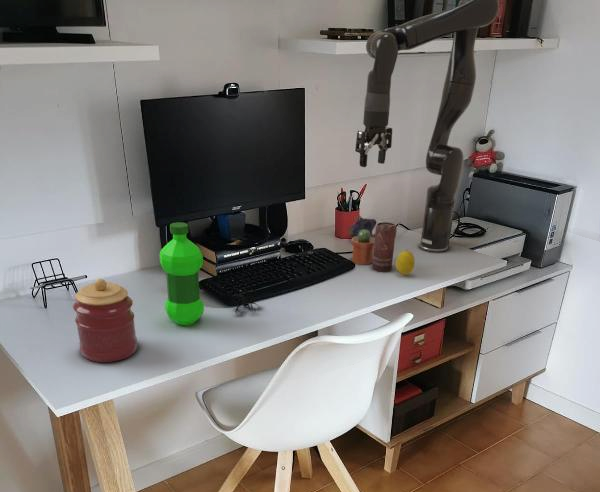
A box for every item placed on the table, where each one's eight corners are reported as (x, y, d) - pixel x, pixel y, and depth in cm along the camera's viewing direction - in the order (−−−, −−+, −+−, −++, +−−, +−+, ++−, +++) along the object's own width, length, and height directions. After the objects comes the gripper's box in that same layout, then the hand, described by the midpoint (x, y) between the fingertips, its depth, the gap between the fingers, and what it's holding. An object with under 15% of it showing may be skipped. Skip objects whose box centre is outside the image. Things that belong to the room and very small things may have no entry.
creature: (264, 314, 176) (245, 299, 180) (267, 297, 173) (248, 282, 177) (242, 322, 172) (223, 307, 175) (245, 305, 168) (225, 290, 172)
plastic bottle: (157, 318, 169) (149, 223, 156) (193, 309, 175) (188, 216, 162) (176, 333, 163) (169, 234, 150) (213, 323, 168) (209, 226, 155)
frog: (340, 238, 231) (341, 216, 227) (365, 232, 237) (366, 211, 233) (359, 245, 224) (361, 223, 220) (384, 239, 231) (386, 217, 227)
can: (393, 272, 203) (398, 227, 196) (372, 271, 203) (377, 227, 196) (391, 265, 208) (396, 222, 201) (371, 264, 208) (375, 221, 201)
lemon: (415, 274, 202) (418, 249, 198) (409, 280, 198) (413, 254, 194) (397, 271, 204) (400, 246, 200) (392, 276, 200) (395, 251, 196)
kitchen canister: (73, 362, 148) (61, 289, 139) (89, 337, 159) (78, 268, 150) (131, 364, 148) (122, 291, 139) (142, 338, 159) (135, 269, 150)
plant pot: (361, 255, 216) (363, 224, 211) (379, 261, 212) (382, 230, 206) (345, 260, 212) (347, 229, 206) (363, 266, 207) (366, 235, 201)
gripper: (370, 112, 189) (366, 170, 197) (401, 108, 198) (396, 164, 206) (351, 108, 193) (347, 165, 202) (382, 105, 202) (377, 160, 211)
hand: (372, 165), depth 204 cm, fingers open, 8 cm apart
